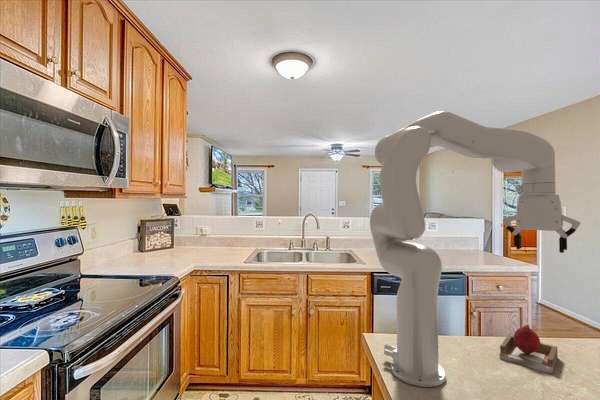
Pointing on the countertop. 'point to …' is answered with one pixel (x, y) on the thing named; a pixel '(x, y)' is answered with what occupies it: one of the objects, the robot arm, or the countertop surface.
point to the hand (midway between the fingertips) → (539, 250)
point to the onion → (526, 339)
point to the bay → (530, 355)
